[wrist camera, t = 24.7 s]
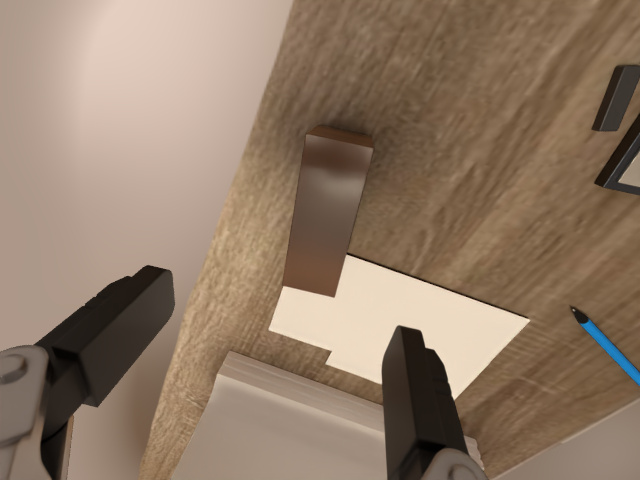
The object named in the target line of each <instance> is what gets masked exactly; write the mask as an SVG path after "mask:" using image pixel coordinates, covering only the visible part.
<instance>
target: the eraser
mask: <svg viewBox="0 0 640 480" xmlns="http://www.w3.org/2000/svg"><path fill="white" fill-rule="evenodd" d="M373 152H374V145H373V140H372V137H371V136H369V135H364V134H360V133H355V132H350V131H346V130H341V129H337V128H332V127H327V126H323V125H318V126H316V127H315V128H313V129H312V130H310V131H309V132H307V133H306V136H305V143H304V149H303V155H302V162H301V168H300V175H299V181H298V187H297V194H296V200H295V206H294V213H293V219H292V225H291V232H290V238H289V245H288V251H287V257H286V264H285V270H284V276H283V283H282V286H286V287H290V288H294V289H299V290H303V291H307V292H311V293H316V294H320V295H324V296H328V297H333V298H335V295H336V291H337V287H338V284H339V280H340V276H341V272H342V269H343V265H344V261H345V257H346V253H347V250H348V246H349V242H350V238H351V235H352V231H353V227H354V223H355V220H356V216H357V212H358V208H359V204H360V201H361V197H362V193H363V189H364V186H365V182H366V178H367V174H368V171H369V167H370V163H371V159H372V155H373Z"/></svg>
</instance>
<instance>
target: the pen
mask: <svg viewBox="0 0 640 480" xmlns="http://www.w3.org/2000/svg"><path fill="white" fill-rule="evenodd" d="M572 310H573V313H574V315H575V317H576V319H577V321H578V323H579V324H580V325H581V326H582V327H583V328H584V329H585V330H586V331H587V332H588V333H589V334H590V335H591V336H592V337H593V338H594V339H595V340H596V341H597V342H598V343H599V345H600V346H601V347H602V348H603V349H604V350H605V351H606V352H607V353H608V354H609V355H610V356H611V357H612V358H613V359H614V360H615V361H616V362H617V363H618V364H619V365H620V366H621V367H622V368H623V370H624V371H625V372H626V373H627V374H628V375H629V376H630V377H631V378H632V379H633V380H634V381H635V382H636V383H637V384H638V385H639V386H640V372H639V371H638V370H637V369H636V368H635V367H634V366H633V365H632V364H631V363H630V362H629V361H628V360H627V359H626V358H625V357H624V355H623V354H622V353H621V352H620V351H619V350H618V349H617V348H616V347H615V346H614V345H613V344H612V343H611V342H610V341H609V340H608V338H607V337H606V336H605V335H604V334H603V333H602V332H601V331H600V330H599V329H598V328H597V327H596V326H595V325H594V324H593V323H592V321H591V320H590V319H589V318H588V317H586V316H584V315H583V314H581V313H580V312H578V311H576V310H574V309H572Z"/></svg>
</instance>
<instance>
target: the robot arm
mask: <svg viewBox="0 0 640 480" xmlns="http://www.w3.org/2000/svg"><path fill="white" fill-rule="evenodd" d="M174 306H175V300H174V288H173V277H172V273H171V271H170V270H167V269H163V268H158V267H154V266H150V265H147V266H145V267H143V268H142V269H141V270H140V271H138V272H137V273H136V274H135V275H134V276H132V277H130V276H126V277H124V278H122V279H120V280H117V281H115V282H113V283H111V284H109V285H108V286H107V287H105V288H104V289H103V290H102V291H101V292H99V293H98V294H97V296H96V297H93V298H92V299H90V300H89V301H88V302H87V303H86V304H85V306H82V307H81V308H79V309H78V310H77V311H76V312H74V313H73V314H72V315H71V316H69V317H68V318H67V319H66V320H64V321H63V322H62V323H61V324H60V325H58V326H57V327H56V328H54V329H53V330H52V331H51V332H49V333H48V334H47V335H46V336H44V337H43V338H42V339H41V340H39V341H38V342H37V343H35V344H34V345H23V346H17V347H13V348H9V349H6V350H3V351H1V352H0V480H67V474H68V466H69V457H70V448H71V440H72V431H73V430H72V429H73V422H74V416H73V414H74V412H75V411H76V410H77V409H78V408H79V407H80V406H81V404H86V405H90V406H94V407H98V406H99V405H100V404H101V403H102V401H103V400H104V399H105V398H106V396H107V395H108V394H109V393H110V392H111V390H112V389H113V388H114V387H115V385H116V384H117V383H118V382H119V380H120V379H121V378H122V377H123V376H124V374H125V373H126V372H127V371H128V369H129V368H130V367H131V366H132V365H133V363H134V362H135V361H136V360H137V358H138V357H139V356H140V355H141V353H142V352H143V351H144V350H145V349H146V347H147V346H148V345H149V344H150V342H151V341H152V340H153V339H154V337H155V336H156V335H157V334H158V332H159V331H160V330H161V329H162V328H163V326H164V325H165V324H166V323H167V322H168V320H169V319H170V317H171V315H172V313H173V310H174ZM381 374H382V392H383V411H384V429H385V448H386V466H387V480H489V479H488V477H487V476H486V474H485V473H484V471H483V470H482V468H481V467H480V466H479V465H478V464H477V463H476V462H475V461H474V460H473V459H472V458H471V457H470V455H469V452H468V449H467V446H466V442H465V439H464V435H463V431H462V428H461V424H460V421H459V417H458V413H457V410H456V406H455V402H454V399H453V397H452V391H451V388H450V384H449V383H448V377H447V373H446V370H445V366H444V364H443V362H442V361H441V359H440V358H439V356H438V355H437V353H436V352H435V350H433V349H429V348H425V343H424V339H423V334H422V332H421V330H418V329H414V328H409V327H405V326H401V325H398V326H397V327H396V328H395V331H394V333H393V335H392V338H391V340H390V342H389V344H388V347H387V349H386V351H385V354H384V357H383V361H382V369H381Z"/></svg>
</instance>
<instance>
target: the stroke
mask: <svg viewBox="0 0 640 480" xmlns="http://www.w3.org/2000/svg"><path fill="white" fill-rule="evenodd" d="M639 78H640V66H618V67H616V68H615V71H614V74H613V76H612V79H611V81H610V84H609V87H608V89H607V92H606V94H605V97H604V100H603V102H602V105H601V107H600V110H599V113H598V115H597V118H596V120H595V123H594V126H593V128H592V130H595V131H617V130H618V128H619V126H620V123H621V121H622V119H623V116H624V114H625V112H626V109H627V107H628V104H629V102H630V100H631V97H632V95H633V93H634V90H635V88H636V85H637V83H638V81H639Z"/></svg>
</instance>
